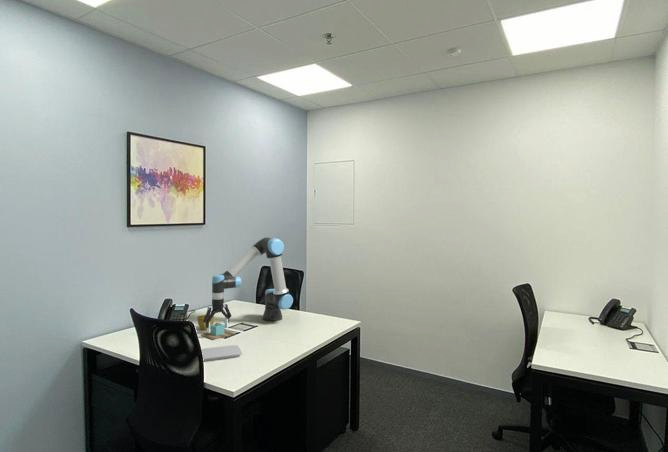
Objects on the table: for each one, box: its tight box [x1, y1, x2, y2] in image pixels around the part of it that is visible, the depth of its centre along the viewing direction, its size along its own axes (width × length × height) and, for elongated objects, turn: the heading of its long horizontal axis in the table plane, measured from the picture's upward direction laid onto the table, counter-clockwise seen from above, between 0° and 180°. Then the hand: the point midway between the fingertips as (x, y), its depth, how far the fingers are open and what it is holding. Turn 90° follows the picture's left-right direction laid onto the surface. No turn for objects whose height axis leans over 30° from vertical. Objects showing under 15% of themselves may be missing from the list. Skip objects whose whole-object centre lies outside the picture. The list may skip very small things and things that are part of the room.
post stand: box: [200, 322, 235, 341], centre depth 254 cm, size 16×14×8 cm
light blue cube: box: [210, 322, 226, 336], centre depth 254 cm, size 6×6×6 cm
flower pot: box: [197, 314, 215, 331], centre depth 266 cm, size 9×9×9 cm
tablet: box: [201, 344, 243, 362], centre depth 218 cm, size 16×26×2 cm, turn 115°
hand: (217, 330), depth 254 cm, fingers open, 13 cm apart
